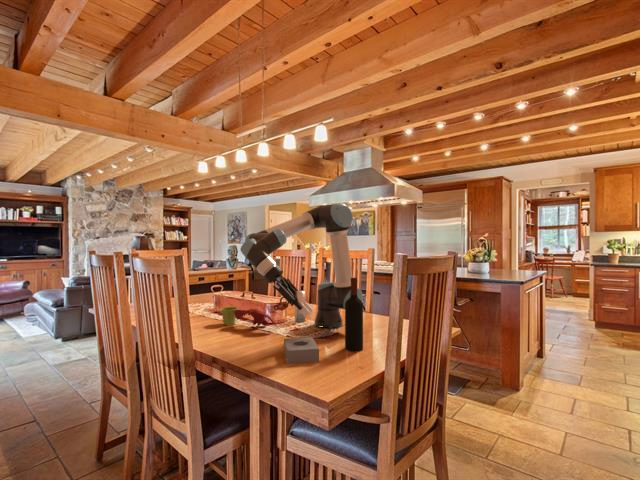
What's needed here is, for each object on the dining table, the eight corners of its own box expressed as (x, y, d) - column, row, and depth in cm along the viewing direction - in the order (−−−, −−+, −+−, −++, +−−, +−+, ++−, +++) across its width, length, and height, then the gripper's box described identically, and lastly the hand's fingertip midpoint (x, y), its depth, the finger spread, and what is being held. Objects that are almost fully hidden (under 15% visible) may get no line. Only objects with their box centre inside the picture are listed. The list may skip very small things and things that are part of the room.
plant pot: (218, 326, 185) (218, 310, 185) (223, 322, 194) (223, 306, 194) (235, 326, 185) (235, 310, 185) (239, 322, 194) (239, 306, 194)
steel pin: (304, 320, 140) (304, 290, 140) (305, 322, 136) (305, 292, 136) (294, 320, 139) (294, 290, 139) (295, 323, 135) (295, 292, 135)
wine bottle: (341, 348, 147) (341, 278, 147) (352, 344, 152) (352, 276, 152) (355, 352, 142) (355, 279, 142) (366, 348, 147) (366, 277, 147)
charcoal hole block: (312, 348, 147) (312, 337, 147) (319, 362, 131) (319, 348, 131) (283, 350, 144) (283, 338, 144) (287, 364, 129) (287, 350, 129)
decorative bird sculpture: (240, 331, 190) (225, 315, 182) (249, 318, 196) (235, 301, 187) (279, 340, 174) (265, 322, 165) (288, 325, 179) (274, 307, 171)
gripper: (272, 275, 150) (308, 315, 145) (255, 279, 133) (296, 325, 129) (283, 262, 148) (321, 303, 144) (268, 265, 132) (310, 311, 128)
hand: (309, 313), depth 137 cm, fingers closed on steel pin, 4 cm apart
